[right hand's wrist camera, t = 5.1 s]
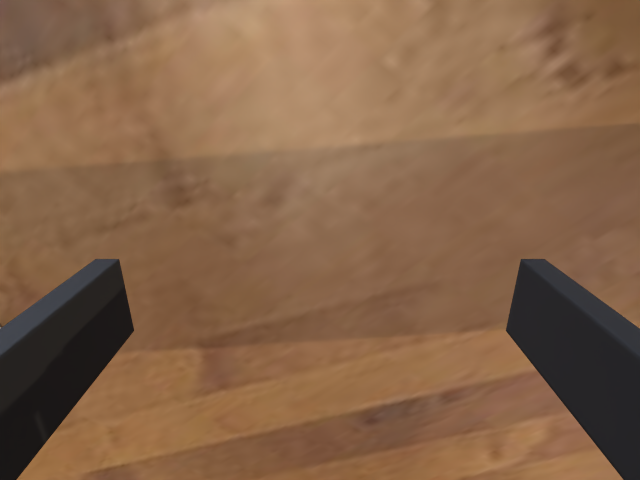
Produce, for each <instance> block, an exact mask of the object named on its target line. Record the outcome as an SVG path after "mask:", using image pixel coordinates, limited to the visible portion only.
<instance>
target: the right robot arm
mask: <svg viewBox="0 0 640 480" xmlns="http://www.w3.org/2000/svg"><path fill="white" fill-rule="evenodd" d="M133 331H134V328H133V323H132V319H131V314H130V309H129V304H128V300H127V295H126V290H125V285H124V281H123V276H122V271H121V266H120V262H119V259H95V260H94V261H92V262H91V263H90V264H88V265H87V266H86V267H84V268H83V269H81V270H80V271H79V272H77V273H76V274H75V275H73V276H72V277H70V278H69V279H68V280H66V281H65V282H64V283H62V284H61V285H60V286H58V287H57V288H55V289H54V290H53V291H51V292H50V293H49V294H47V295H46V296H44V297H43V298H42V299H40V300H39V301H38V302H36V303H35V304H34V305H32V306H31V307H29V308H28V309H27V310H25V311H24V312H23V313H21V314H20V315H18V316H17V317H16V318H14V319H13V320H12V321H10V322H9V323H7V324H6V325H5V326H3V327H2V328H1V329H0V480H16V479H17V478H18V477H19V476H20V474H21V473H22V472H23V471H24V469H25V468H26V467H27V466H28V464H29V463H30V462H31V460H32V459H33V458H34V457H35V455H36V454H37V453H38V452H39V450H40V449H41V448H42V447H43V445H44V444H45V443H46V441H47V440H48V439H49V438H50V436H51V435H52V434H53V433H54V431H55V430H56V429H57V428H58V426H59V425H60V424H61V422H62V421H63V420H64V419H65V417H66V416H67V415H68V414H69V412H70V411H71V410H72V409H73V407H74V406H75V405H76V404H77V402H78V401H79V400H80V398H81V397H82V396H83V395H84V393H85V392H86V391H87V390H88V388H89V387H90V386H91V385H92V383H93V382H94V381H95V379H96V378H97V377H98V376H99V374H100V373H101V372H102V371H103V369H104V368H105V367H106V366H107V364H108V363H109V362H110V360H111V359H112V358H113V357H114V355H115V354H116V353H117V352H118V350H119V349H120V348H121V347H122V345H123V344H124V343H125V341H126V340H127V339H128V338H129V336H130V335H131V334H132V333H133ZM506 331H507V333H508V334H509V335H510V336H511V338H512V339H513V340H514V341H515V343H516V344H517V345H518V347H519V348H520V349H521V350H522V352H523V353H524V354H525V355H526V357H527V358H528V359H529V360H530V362H531V363H532V364H533V366H534V367H535V368H536V369H537V371H538V372H539V373H540V374H541V376H542V377H543V378H544V379H545V381H546V382H547V383H548V385H549V386H550V387H551V388H552V390H553V391H554V392H555V393H556V395H557V396H558V397H559V398H560V400H561V401H562V402H563V404H564V405H565V406H566V407H567V409H568V410H569V411H570V412H571V414H572V415H573V416H574V417H575V419H576V420H577V421H578V422H579V424H580V425H581V426H582V428H583V429H584V430H585V431H586V433H587V434H588V435H589V436H590V438H591V439H592V440H593V441H594V443H595V444H596V445H597V447H598V448H599V449H600V450H601V452H602V453H603V454H604V455H605V457H606V458H607V459H608V460H609V462H610V463H611V464H612V466H613V467H614V468H615V469H616V471H617V472H618V473H619V474H620V476H621V477H622V478H623V479H624V480H640V329H639V328H638V327H637V326H635V325H634V324H633V323H631V322H630V321H628V320H627V319H626V318H624V317H623V316H622V315H620V314H619V313H617V312H616V311H615V310H613V309H612V308H611V307H609V306H608V305H606V304H605V303H604V302H602V301H601V300H600V299H598V298H597V297H596V296H594V295H593V294H591V293H590V292H589V291H587V290H586V289H585V288H583V287H582V286H580V285H579V284H578V283H576V282H575V281H574V280H572V279H571V278H570V277H568V276H567V275H565V274H564V273H563V272H561V271H560V270H559V269H557V268H556V267H554V266H553V265H552V264H550V263H549V262H548V261H546V260H545V259H521V262H520V266H519V271H518V276H517V281H516V285H515V290H514V295H513V300H512V304H511V309H510V314H509V319H508V323H507V328H506Z"/></svg>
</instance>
